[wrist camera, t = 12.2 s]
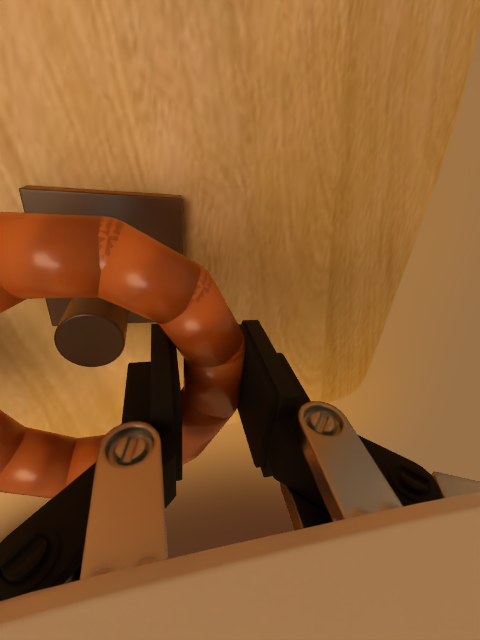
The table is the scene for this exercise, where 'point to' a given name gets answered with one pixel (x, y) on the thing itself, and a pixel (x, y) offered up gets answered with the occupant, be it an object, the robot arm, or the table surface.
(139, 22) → the table surface
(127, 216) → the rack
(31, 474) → the ring
